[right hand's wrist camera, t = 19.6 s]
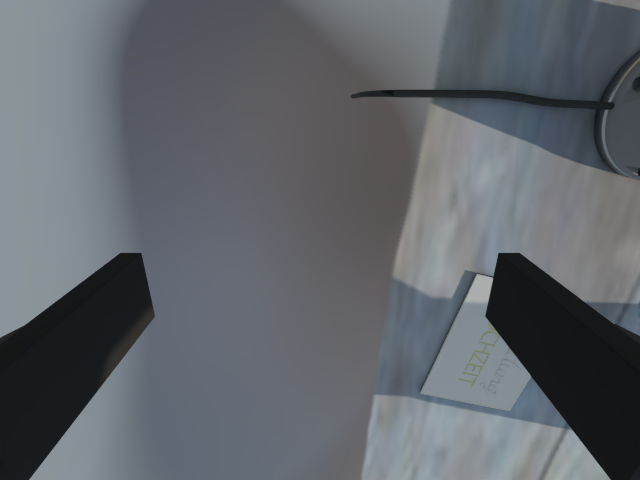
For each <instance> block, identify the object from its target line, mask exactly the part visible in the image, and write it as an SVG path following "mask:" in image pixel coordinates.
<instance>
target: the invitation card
mask: <svg viewBox="0 0 640 480" xmlns="http://www.w3.org/2000/svg"><path fill="white" fill-rule="evenodd" d="M492 282H493V277H489V276H485V275H481V274H476V276H475V278H474V280H473V282H472V285H471V287H470V289H469V291H468V293H467V295H466V297H465V299H464V301H463V303H462V305H461V308H460V310H459V312H458V314H457V316H456V318H455V320H454V322H453V324H452V326H451V329H450V331H449V333H448V335H447V337H446V339H445V341H444V343H443V345H442V347H441V349H440V352H439V354H438V356H437V358H436V360H435V362H434V364H433V366H432V368H431V370H430V373H429V375H428V377H427V379H426V381H425V383H424V385H423V387H422V389H421V391H420V394H425V395H430V396H435V397H440V398H445V399H450V400H455V401H460V402H465V403H470V404H475V405H480V406H485V407H490V408H495V409H500V410H505V411H510V410H511V409H512V407H513V405H514V404H515V402H516V401H517V399H518V397H519V396H520V394H521V393H522V391H523V389H524V388H525V386H526V385H527V383H528V381H529V380H530V378H531V375H530V374H529V373H528V371H527V370H526V369H525V368H524V366H523V365H522V364H521V362H520V361H519V360H518V358H517V357H516V356H515V355H514V353H513V352H512V351H511V349H510V348H509V347H508V345H507V344H506V343H505V342H504V340H503V339H502V338H501V336H500V335H499V334H498V332H497V331H496V330H495V329H494V327H493V326H492V325H491V323H490V322H489V321H488V320H487V318H486V317H485V314H486V310H487V305H488V300H489V296H490V291H491V286H492Z"/></svg>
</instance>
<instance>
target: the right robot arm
mask: <svg viewBox="0 0 640 480" xmlns="http://www.w3.org/2000/svg"><path fill="white" fill-rule="evenodd" d="M360 97H451V98H496V99H507V100H514V101H520V102H525V103H530V104H536V105H543V106H551V107H566V108H586V109H598V111H597V115H596V121H595V141H596V145H597V149H598V152H599V154H600V156H601V158H602V159H603V161H604V162H605V163H606V165H607V166H608V167H609V168H611V169H612V170H613V171H615V172H616V173H618V174H620V175H622V176H625V177H629V178H632V179H637V180H640V51H639V52H638V53H636V54H635V55H634V56H633V57H632V58H631V59H630V60H629V61H628V62H627V63H626V64H625V65H624V66H623V67H622V68H621V69H620V70H619V72H618V73H617V74H616V75H615V77H614V78H613V80H612V81H611V83H610V84H609V86H608V87H607V89H606V91H605V93H604V95H603V97H602V100H601V102H597V101H577V100H557V99H548V98H541V97H535V96H530V95H525V94H519V93H512V92H503V91H488V90H376V91H364V92H359V93H356V94H352V95H351V98H360ZM638 315H639V318H640V303H639V306H638ZM154 317H155V314H154V310H153V305H152V301H151V296H150V291H149V287H148V282H147V277H146V273H145V268H144V263H143V258H142V254H141V253H120V254H119V255H117V256H116V257H115V258H113V259H112V260H111V261H109V262H108V263H107V264H105V265H104V266H103V267H101V268H100V269H99V270H97V271H96V272H95V273H93V274H92V275H91V276H90V277H88V278H87V279H86V280H84V281H83V282H82V283H80V284H79V285H78V286H76V287H75V288H74V289H72V290H71V291H70V292H68V293H67V294H66V295H64V296H63V297H62V298H60V299H59V300H58V301H56V302H55V303H54V304H52V305H51V306H50V307H49V308H47V309H46V310H44V311H43V312H42V313H41V314H39V315H38V316H37V317H35V318H34V319H33V320H31V321H30V322H29V323H27V324H26V325H25V326H23V327H21V328H19V329H17V330H15V331H13V332H11V333H9V334H7V335H5V336H3V337H1V338H0V480H29V479H30V478H31V476H32V475H33V474H34V473H35V471H36V470H37V469H38V467H39V466H40V465H41V463H42V462H43V461H44V460H45V458H46V457H47V456H48V454H49V453H50V452H51V450H52V449H53V448H54V447H55V445H56V444H57V443H58V441H59V440H60V439H61V437H62V436H63V435H64V434H65V432H66V431H67V430H68V428H69V427H70V426H71V425H72V423H73V422H74V421H75V419H76V418H77V417H78V415H79V414H80V413H81V412H82V410H83V409H84V408H85V406H86V405H87V404H88V403H89V401H90V400H91V399H92V397H93V396H94V395H95V393H96V392H97V391H98V389H99V388H100V387H101V386H102V384H103V383H104V382H105V380H106V379H107V378H108V377H109V375H110V374H111V373H112V371H113V370H114V369H115V367H116V366H117V365H118V364H119V362H120V361H121V360H122V358H123V357H124V356H125V355H126V353H127V352H128V351H129V349H130V348H131V347H132V345H133V344H134V343H135V342H136V340H137V339H138V338H139V336H140V335H141V334H142V332H143V331H144V330H145V328H146V327H147V326H148V325H149V323H150V322H151V321H152V320H153V318H154ZM485 317H486V318H487V320H488V321H489V322H490V323H491V325H492V326H493V327H494V329H495V330H496V331H497V332H498V334H499V335H500V336H501V338H502V339H503V340H504V342H505V343H506V344H507V345H508V347H509V348H510V349H511V351H512V352H513V353H514V355H515V356H516V357H517V358H518V360H519V361H520V362H521V364H522V365H523V366H524V368H525V369H526V370H527V371H528V373H529V374H530V375H531V377H532V378H533V379H534V380H535V382H536V383H537V384H538V386H539V387H540V388H541V390H542V391H543V392H544V393H545V395H546V396H547V397H548V399H549V400H550V401H551V403H552V404H553V405H554V406H555V408H556V409H557V410H558V412H559V413H560V414H561V415H562V417H563V418H564V419H565V421H566V422H567V423H568V425H569V426H570V427H571V428H572V430H573V431H574V432H575V434H576V435H577V436H578V438H579V439H580V440H581V441H582V443H583V444H584V445H585V447H586V448H587V449H588V451H589V452H590V453H591V454H592V456H593V457H594V458H595V460H596V461H597V462H598V463H599V465H600V466H601V467H602V469H603V470H604V471H605V473H606V474H607V475H608V476H609V478H610V479H611V480H640V336H638V335H636V334H634V333H632V332H630V331H628V330H626V329H624V328H622V327H620V326H618V325H616V324H613V323H611V322H610V321H609V320H607V319H606V318H605V317H603V316H602V315H601V314H599V313H598V312H597V311H596V310H594V309H593V308H592V307H590V306H589V305H588V304H586V303H585V302H584V301H582V300H581V299H580V298H578V297H577V296H576V295H574V294H573V293H572V292H570V291H569V290H568V289H566V288H565V287H564V286H562V285H561V284H560V283H558V282H557V281H556V280H554V279H553V278H552V277H551V276H549V275H548V274H547V273H545V272H544V271H543V270H541V269H540V268H539V267H537V266H536V265H535V264H533V263H532V262H531V261H529V260H528V259H527V258H525V257H524V256H523V255H521V254H520V253H499V254H498V258H497V263H496V268H495V272H494V277H493V282H492V286H491V291H490V296H489V300H488V305H487V310H486V314H485Z"/></svg>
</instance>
